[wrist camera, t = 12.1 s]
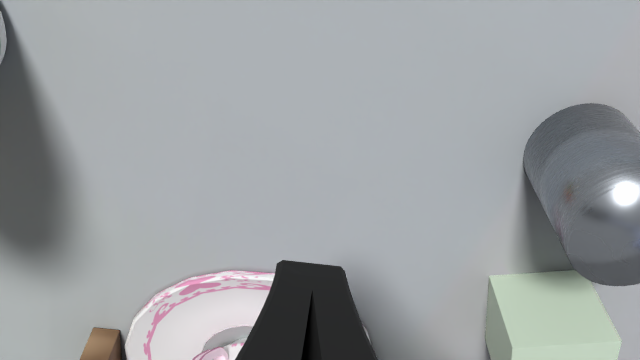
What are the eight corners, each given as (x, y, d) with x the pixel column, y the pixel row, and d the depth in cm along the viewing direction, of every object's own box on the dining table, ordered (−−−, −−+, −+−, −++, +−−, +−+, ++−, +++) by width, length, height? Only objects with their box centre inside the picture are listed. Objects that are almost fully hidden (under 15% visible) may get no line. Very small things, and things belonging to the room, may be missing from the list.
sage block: (583, 267, 25) (621, 341, 22) (571, 331, 28) (604, 406, 24) (488, 274, 26) (512, 348, 22) (484, 337, 28) (505, 412, 25)
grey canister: (653, 111, 21) (732, 191, 17) (608, 200, 23) (668, 292, 19) (544, 96, 21) (598, 175, 17) (509, 189, 23) (548, 279, 19)
